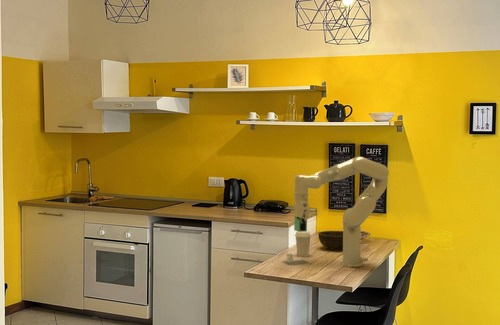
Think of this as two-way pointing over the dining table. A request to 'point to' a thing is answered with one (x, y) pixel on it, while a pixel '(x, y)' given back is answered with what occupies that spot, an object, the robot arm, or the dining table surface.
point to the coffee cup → (303, 243)
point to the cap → (298, 224)
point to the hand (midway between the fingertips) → (300, 229)
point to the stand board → (298, 262)
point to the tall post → (289, 258)
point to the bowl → (331, 239)
